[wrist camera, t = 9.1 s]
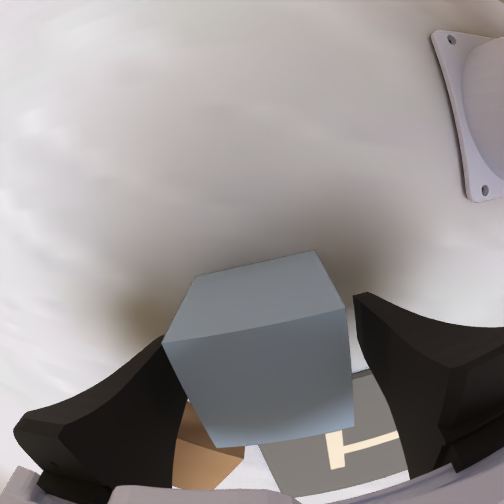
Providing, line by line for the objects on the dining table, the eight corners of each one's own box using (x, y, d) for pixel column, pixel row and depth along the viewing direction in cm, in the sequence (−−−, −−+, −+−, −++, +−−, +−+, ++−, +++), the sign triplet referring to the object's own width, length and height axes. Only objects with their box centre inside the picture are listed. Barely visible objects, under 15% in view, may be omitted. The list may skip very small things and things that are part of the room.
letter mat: (466, 334, 13) (470, 338, 13) (436, 454, 17) (438, 457, 16) (239, 397, 14) (239, 402, 14) (284, 495, 18) (284, 499, 18)
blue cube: (314, 249, 12) (345, 307, 7) (330, 347, 14) (354, 426, 9) (195, 275, 13) (161, 343, 8) (228, 367, 14) (216, 447, 9)
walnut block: (246, 418, 15) (243, 458, 13) (211, 462, 17) (206, 495, 14) (147, 380, 15) (129, 418, 12) (130, 432, 17) (117, 464, 14)
